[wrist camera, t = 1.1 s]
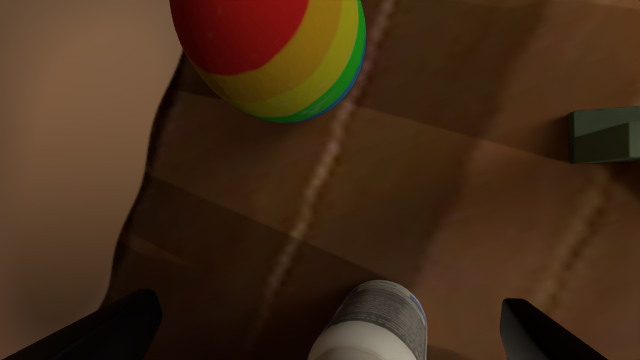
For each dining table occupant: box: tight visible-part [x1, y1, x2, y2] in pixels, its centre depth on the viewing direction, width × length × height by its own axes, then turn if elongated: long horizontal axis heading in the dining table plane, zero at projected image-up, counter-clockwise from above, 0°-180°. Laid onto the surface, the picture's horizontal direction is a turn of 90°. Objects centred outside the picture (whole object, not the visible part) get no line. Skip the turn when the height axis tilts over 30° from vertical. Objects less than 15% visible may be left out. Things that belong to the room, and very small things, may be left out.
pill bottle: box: [308, 280, 427, 360], centre depth 15 cm, size 5×5×8 cm
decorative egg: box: [169, 0, 366, 123], centre depth 15 cm, size 8×8×10 cm
